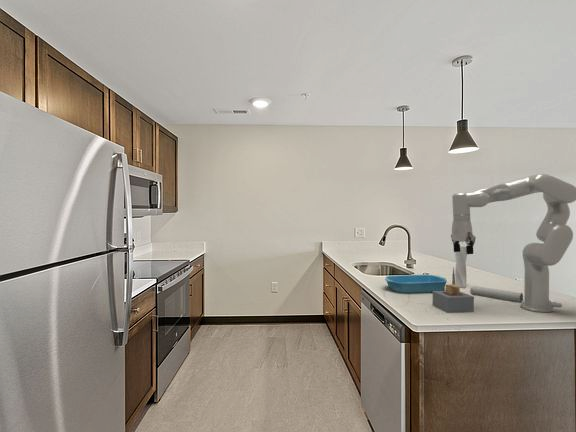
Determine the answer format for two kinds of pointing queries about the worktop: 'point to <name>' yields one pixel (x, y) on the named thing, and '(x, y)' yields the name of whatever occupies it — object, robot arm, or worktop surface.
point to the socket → (453, 302)
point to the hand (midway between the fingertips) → (463, 252)
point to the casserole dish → (416, 283)
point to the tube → (497, 294)
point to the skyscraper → (460, 267)
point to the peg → (452, 290)
